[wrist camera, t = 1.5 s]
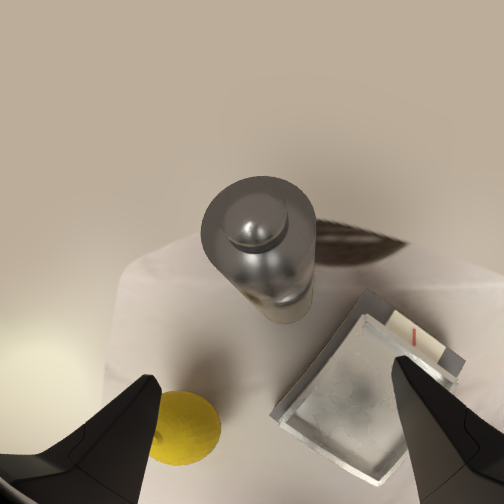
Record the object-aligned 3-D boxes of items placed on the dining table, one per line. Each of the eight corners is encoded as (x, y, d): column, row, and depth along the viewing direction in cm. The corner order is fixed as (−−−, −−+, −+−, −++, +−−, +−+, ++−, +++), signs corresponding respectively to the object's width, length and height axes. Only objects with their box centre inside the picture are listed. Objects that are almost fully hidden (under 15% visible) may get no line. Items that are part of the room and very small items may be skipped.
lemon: (190, 373, 22) (137, 377, 14) (245, 412, 20) (213, 438, 12) (159, 420, 20) (102, 437, 13) (210, 458, 18) (168, 495, 11)
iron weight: (322, 290, 22) (341, 193, 9) (289, 334, 21) (260, 299, 8) (279, 260, 24) (243, 142, 11) (246, 301, 23) (166, 225, 10)
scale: (448, 361, 18) (478, 360, 13) (368, 470, 16) (381, 494, 11) (359, 297, 21) (372, 281, 17) (274, 407, 19) (265, 421, 15)
